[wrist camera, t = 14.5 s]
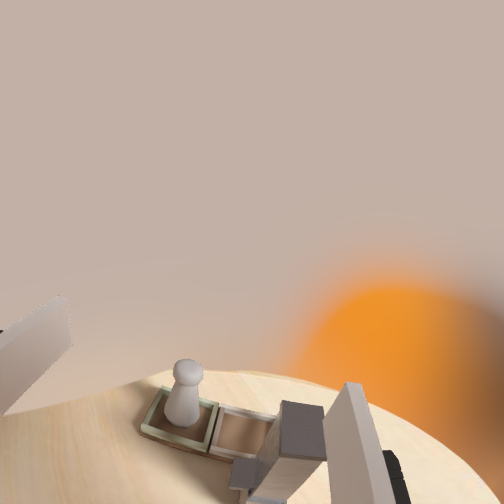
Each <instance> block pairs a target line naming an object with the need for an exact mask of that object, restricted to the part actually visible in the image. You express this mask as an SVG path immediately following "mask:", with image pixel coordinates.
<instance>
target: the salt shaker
mask: <svg viewBox="0 0 504 504" xmlns="http://www.w3.org/2000/svg"><path fill="white" fill-rule="evenodd" d="M173 376H174V378H175V380H176V381H175V383H174V386H173V388H172V390H171V393H170V395H169V397H168V399H167V402H166V404H165V408H164V413H165V415H166V417H167V419H168V420H169V421H170V422H171V424H172V425H173V426H174V427H175V428H182V429H187V428H188V427H189V426H191V425H193V424H195V423H196V421H197V420H198V419H199V417H200V410H199V397H198V384H199V383H200V382H201V381H202V379H203V368H202V366H201V365H200V364H199V363H198V362H196V361H194V360H191V359H183V360H179V361H178V362H177V363H176V364H175V365H174V369H173Z"/></svg>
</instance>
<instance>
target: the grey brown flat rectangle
mask: <svg viewBox="0 0 504 504" xmlns="http://www.w3.org/2000/svg"><path fill="white" fill-rule="evenodd" d="M171 390H172V389H171V388H168V387H165V386H161V388H160V390H159V392H158V394H157V396H156V398H155V400H154V402H153V404H152V405H151V407H150V409H149V411H148V413H147V415H146V417H145V419H144V421H143V423H142V425H141V429H140V431H139V435H141V436H144V437H146V438H149V439H152V440H154V441H157V442H160V443H163V444H166V445H169V446H172V447H175V448H178V449H181V450H184V451H187V452H191V453H194V454H198V455H202V456H205V457H209V458H213V459H217V460H222V461H226V462H231V463H233V462H234V458H251V457H252V455H257V453H258V451H259V449H260V447H261V445H262V444H263V442H264V440H265V438H266V436H267V434H268V432H269V430H270V428H271V426H272V425H273V423H274V421H275V419H276V417H277V416H275V415H270V414H265V413H260V412H255V411H250V410H246V409H241V408H237V407H233V406H229V405H225V404H221V407H218V406H219V403H217V402H213V401H210V400H206V399H203V398H199V410H200V417H199V419H198V420H197V421H196V423H195V424H193V425H191V426H189V427H188V428H187V429H182V428H175V427H174V426H173V425H172V424H171V422H170V421H169V420H168V419H167V417H166V415H165V413H164V408H165V404H166V402H167V399H168V397H169V395H170V393H171Z"/></svg>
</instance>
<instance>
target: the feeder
mask: <svg viewBox="0 0 504 504" xmlns="http://www.w3.org/2000/svg"><path fill="white" fill-rule="evenodd" d="M323 419H324V410H323V406H316V405H309V404H302V403H296V402H290V401H285V400H282V401H281V404H280V411H279V413H278V415H277V417H276V419H275V421H274V423H273V425H272V426H271V428H270V430H269V432H268V434H267V436H266V438H265V440H264V442H263V444H262V445H261V447H260V449H259V451H258V453H257V455H252V457H251V458H234V462H233V467H232V473H231V479H230V484H229V488H230V490H240V497H239V503H238V504H287V499H288V498H289V497H290V496H291V495H292V494H293V493H294V492H295V491H296V490H297V489H298V488H299V487H300V486H301V485H302V484H303V483H304V482H305V481H306V480H307V479H308V478H309V477H310V476H311V474H312V473H313V472H314V471H315V470H316V469H317V468H318V467H319V465H320V464H321V463H322V462H323V461H327V454H326V446H325V438H324V430H323V422H322V421H323Z"/></svg>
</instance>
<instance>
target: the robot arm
mask: <svg viewBox="0 0 504 504" xmlns="http://www.w3.org/2000/svg"><path fill="white" fill-rule="evenodd" d="M72 346H73V342H72V335H71V323H70V311H69V300H68V299H65V298H63V297H61V296H59V295H57V296H55V297H54V298H52V299H51V300H49V301H48V302H46V303H45V304H43V305H42V306H40V307H38V308H37V309H35V310H34V311H32V312H31V313H29V314H28V315H27V316H25V317H24V318H22V319H21V320H19V321H18V322H16V323H15V324H14V325H12V326H11V327H9V328H8V329H6V330H5V331H2V330H0V417H1V416H2V415H3V414H4V413H5V412H6V411H7V410H8V409H9V408H10V407H11V406H12V405H13V404H14V403H15V402H16V400H17V399H18V398H19V397H20V396H21V395H22V394H23V393H24V392H25V391H26V390H27V389H28V388H29V387H30V386H31V385H32V384H33V383H34V382H35V381H36V380H37V379H38V378H39V377H40V376H41V375H42V374H43V373H44V372H45V371H46V370H47V369H48V368H49V367H51V365H52V364H54V362H56V361H57V360H58V359H59V358H60V357H61V356H62V355H63V354H64V353H65V352H66V351H67V350H68V349H69V348H70V347H72ZM322 422H323V430H324V438H325V446H326V454H327V463H328V472H329V482H330V492H331V504H411V501H410V498H409V494H408V491H407V487H406V484H405V480H403V478H404V477H403V473H402V472H401V467H400V464H399V460H398V459H397V457H396V456H395V455H394V453H393V452H392V451H391V450H382V449H381V446H380V442H379V439H378V435H377V432H376V429H375V426H374V422H373V419H372V416H371V413H370V410H369V406H368V403H367V400H366V397H365V394H364V391H363V388H362V385H361V384H360V383H352V382H346V383H345V384H344V386H343V388H342V390H341V391H340V393H339V395H338V396H337V398H336V400H335V401H334V403H333V405H332V406H331V408H330V409H329V411H328V413H327V414H326V416H325V417H324V419H323V421H322Z"/></svg>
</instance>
